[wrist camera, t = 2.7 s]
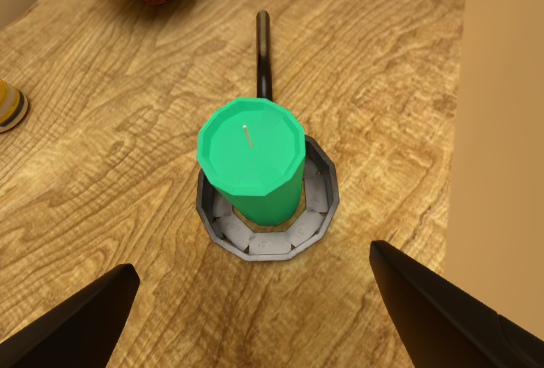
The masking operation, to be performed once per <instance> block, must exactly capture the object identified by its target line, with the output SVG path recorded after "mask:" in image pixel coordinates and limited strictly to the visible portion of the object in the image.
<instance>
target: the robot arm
mask: <svg viewBox="0 0 544 368" xmlns="http://www.w3.org/2000/svg"><path fill="white" fill-rule="evenodd" d="M369 261H370V265H371V268H372V271H373V273H374V276H375V279H376V282H377V284H378V287H379V290H380V293H381V296H382V298H383V301H384V304H385V306H386V308H387V310H388V313H389V315H390V317H391V319H392V321H393V323H394V325H395V327H396V329H397V331H398V333H399V335H400V338H401V340H402V342H403V344H404V346H405V348H406V350H407V352H408V354H409V356H410V358H411V360H412V362H413V364H414V366H415V368H544V341H542V340H541V339H539V338H537V337H535V336H534V335H533V334H531V333H529V332H528V331H526V330H524V329H523V328H521V327H520V326H518V325H516V324H515V323H513V322H511V321H510V320H508V319H507V318H505V317H503V316H502V315H498V314H497V312H496V311H494V310H493V309H491V308H490V307H488V306H486V305H485V304H483V303H482V302H480V301H478V300H477V299H475V298H474V297H472V296H471V295H469V294H468V293H466V292H464V291H463V290H461V289H460V288H458V287H456V286H455V285H453V284H452V283H450V282H449V281H447V280H446V279H444V278H442V277H441V276H439V275H438V274H436V273H435V272H433V271H431V270H430V269H428V268H427V267H425V266H424V265H422V264H420V263H419V262H417V261H416V260H414V259H413V258H411V257H409V256H408V255H406V254H405V253H403V252H402V251H400V250H398V249H397V248H395V247H394V246H392V245H391V244H389V243H387V242H386V241H384V240H376V241H372V242H371V245H370V255H369ZM139 285H140V278H139V276H138V274H137V272H136V270H135V268H134V266H133V265H132V264H130V263H127V264H119V265H117V266H116V267H114V268H113V269H111V270H110V271H108V272H107V273H105V274H104V275H102V276H101V277H99V278H98V279H96V280H95V281H93V282H92V283H90V284H89V285H87V286H86V287H84V288H83V289H81V290H80V291H78V292H77V293H75V294H74V295H72V296H71V297H69V298H68V299H66V300H65V301H63V302H62V303H60V304H59V305H57V306H56V307H54V308H53V309H51V310H50V311H48V312H47V313H45V314H44V315H42V316H41V317H39V318H38V319H37V320H35V321H34V322H32V323H31V324H29V325H28V326H26V327H25V328H23V329H22V330H20V331H19V332H17V333H16V334H14V335H13V336H11V337H10V338H8V339H7V340H5V341H4V342H2V343H1V344H0V368H106V365H107V363H108V361H109V359H110V357H111V355H112V352H113V350H114V348H115V346H116V344H117V342H118V339H119V337H120V335H121V333H122V331H123V328H124V326H125V323H126V321H127V318H128V315H129V313H130V310H131V307H132V304H133V302H134V299H135V296H136V293H137V290H138V288H139Z"/></svg>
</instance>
